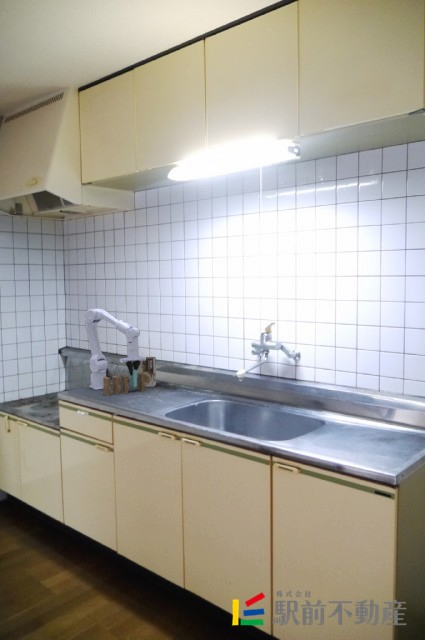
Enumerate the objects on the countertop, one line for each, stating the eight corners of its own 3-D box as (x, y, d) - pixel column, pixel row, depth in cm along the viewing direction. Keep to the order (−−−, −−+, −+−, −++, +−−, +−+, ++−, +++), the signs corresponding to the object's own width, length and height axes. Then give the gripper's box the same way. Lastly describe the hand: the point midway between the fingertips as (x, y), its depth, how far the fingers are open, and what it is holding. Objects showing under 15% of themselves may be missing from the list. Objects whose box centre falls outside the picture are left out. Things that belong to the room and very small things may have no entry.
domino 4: (133, 387, 272) (133, 370, 272) (129, 385, 276) (129, 369, 276) (137, 386, 273) (136, 369, 273) (133, 385, 278) (132, 368, 277)
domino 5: (142, 391, 275) (141, 374, 275) (137, 389, 279) (137, 373, 279) (145, 390, 276) (145, 374, 276) (141, 389, 281) (141, 372, 280)
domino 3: (125, 393, 270) (124, 376, 269) (121, 391, 274) (120, 375, 273) (128, 392, 271) (128, 376, 270) (124, 391, 275) (124, 374, 274)
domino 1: (107, 395, 264) (106, 378, 263) (103, 394, 268) (103, 377, 268) (110, 395, 265) (110, 378, 265) (107, 393, 269) (106, 376, 269)
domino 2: (116, 394, 267) (115, 377, 266) (112, 392, 271) (112, 376, 270) (119, 394, 268) (119, 377, 267) (115, 392, 272) (115, 375, 271)
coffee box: (156, 384, 293) (156, 356, 291) (154, 386, 286) (153, 358, 285) (140, 384, 293) (140, 356, 292) (138, 386, 287) (137, 358, 286)
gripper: (123, 351, 266) (123, 377, 267) (148, 349, 274) (148, 374, 275) (117, 350, 272) (118, 375, 273) (142, 348, 280) (142, 372, 281)
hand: (133, 374), depth 274 cm, fingers closed on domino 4, 2 cm apart
